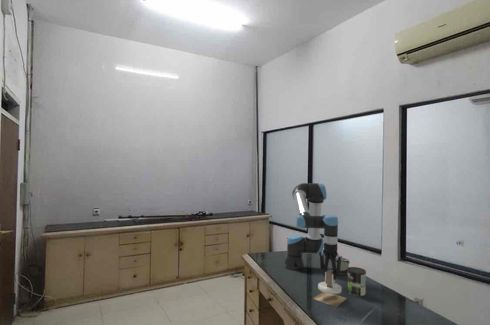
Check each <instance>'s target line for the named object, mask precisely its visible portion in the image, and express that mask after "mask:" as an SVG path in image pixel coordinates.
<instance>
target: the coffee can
mask: <svg viewBox="0 0 490 325" xmlns="http://www.w3.org/2000/svg"><path fill="white" fill-rule="evenodd" d="M366 278H367V270H366V269H364V268H362V267H355V266H350V267H349V266H348V274H347V293H348V294H349V295H352V296H353V297H364V296H366V291H367V290H366V283H367V282H366V280H367V279H366Z"/></svg>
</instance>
